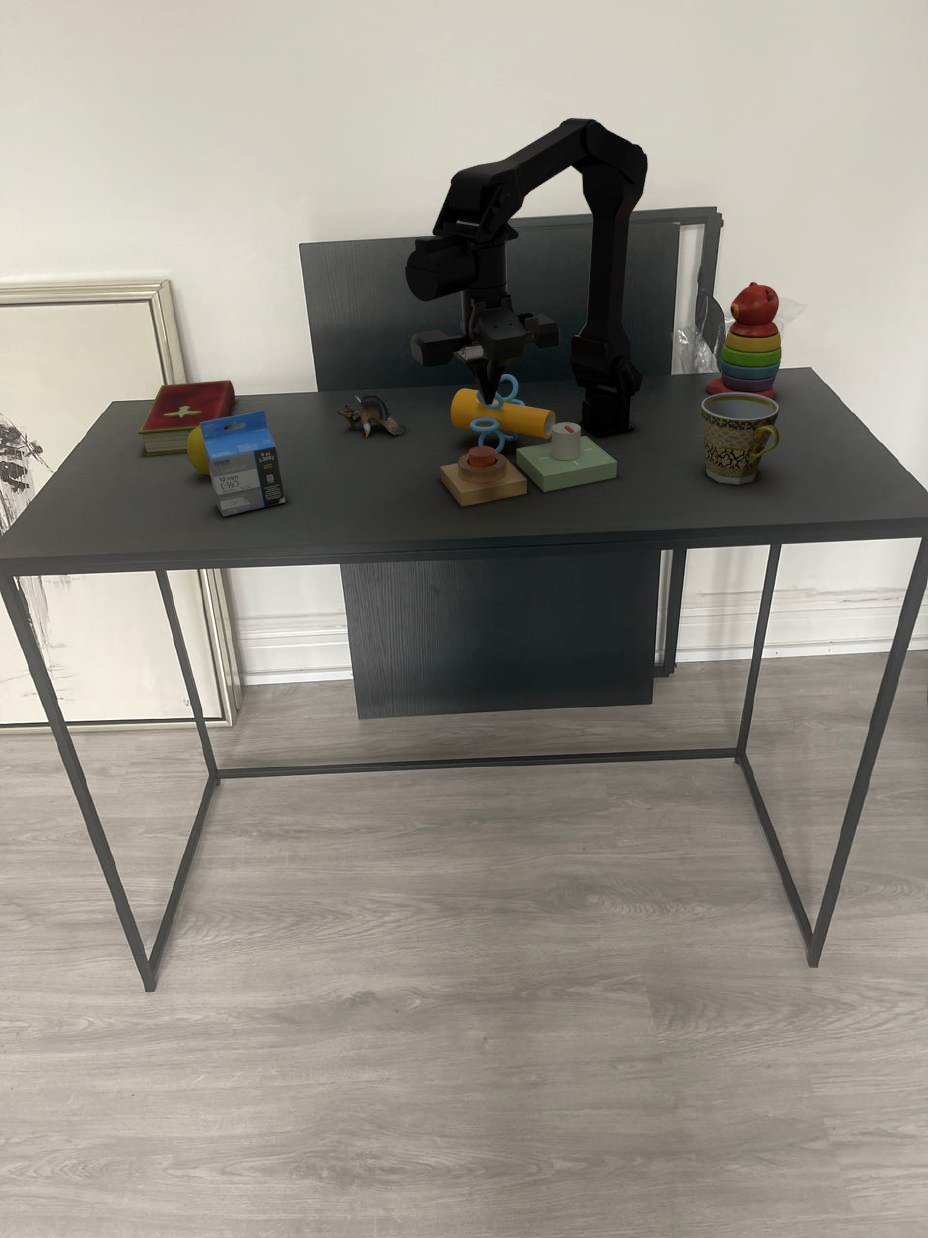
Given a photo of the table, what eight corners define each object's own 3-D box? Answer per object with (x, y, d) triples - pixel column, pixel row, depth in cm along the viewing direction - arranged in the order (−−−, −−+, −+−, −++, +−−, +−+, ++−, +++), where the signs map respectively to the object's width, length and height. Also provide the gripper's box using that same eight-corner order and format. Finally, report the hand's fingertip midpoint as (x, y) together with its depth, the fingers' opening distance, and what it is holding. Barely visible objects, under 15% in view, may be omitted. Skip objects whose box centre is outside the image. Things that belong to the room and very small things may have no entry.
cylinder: (440, 455, 136) (529, 475, 129) (436, 388, 130) (529, 405, 123) (481, 426, 144) (566, 443, 138) (479, 361, 138) (568, 376, 132)
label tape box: (222, 518, 122) (203, 431, 115) (216, 506, 125) (198, 421, 118) (286, 503, 125) (271, 418, 118) (279, 492, 128) (264, 408, 121)
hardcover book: (236, 401, 159) (232, 378, 156) (222, 449, 141) (217, 423, 139) (166, 407, 158) (161, 383, 156) (144, 456, 141) (138, 430, 138)
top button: (489, 455, 126) (489, 443, 125) (499, 465, 123) (499, 453, 122) (465, 460, 125) (465, 448, 124) (474, 470, 122) (473, 458, 121)
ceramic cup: (680, 468, 129) (686, 400, 123) (738, 453, 132) (747, 386, 126) (737, 505, 119) (747, 433, 113) (799, 488, 122) (811, 417, 116)
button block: (503, 468, 131) (502, 442, 129) (527, 494, 124) (527, 467, 122) (440, 480, 129) (439, 454, 126) (461, 507, 122) (460, 479, 119)
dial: (547, 451, 129) (547, 422, 127) (572, 446, 130) (573, 418, 128) (558, 462, 126) (558, 433, 124) (584, 457, 127) (585, 428, 124)
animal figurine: (336, 435, 141) (389, 428, 138) (334, 389, 141) (387, 381, 138) (358, 444, 148) (409, 437, 145) (356, 400, 148) (407, 393, 145)
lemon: (198, 487, 130) (186, 435, 126) (189, 473, 134) (177, 422, 130) (236, 478, 132) (225, 426, 128) (226, 465, 136) (215, 414, 132)
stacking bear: (702, 387, 154) (714, 279, 144) (760, 382, 155) (776, 274, 145) (724, 410, 145) (738, 296, 135) (786, 405, 146) (804, 291, 136)
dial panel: (585, 451, 135) (585, 434, 133) (616, 477, 127) (617, 460, 125) (516, 464, 132) (516, 447, 130) (543, 492, 124) (543, 474, 123)
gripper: (431, 309, 104) (440, 437, 112) (580, 287, 108) (577, 412, 117) (404, 287, 112) (414, 407, 121) (543, 267, 117) (543, 385, 126)
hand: (488, 403), depth 121 cm, fingers closed
